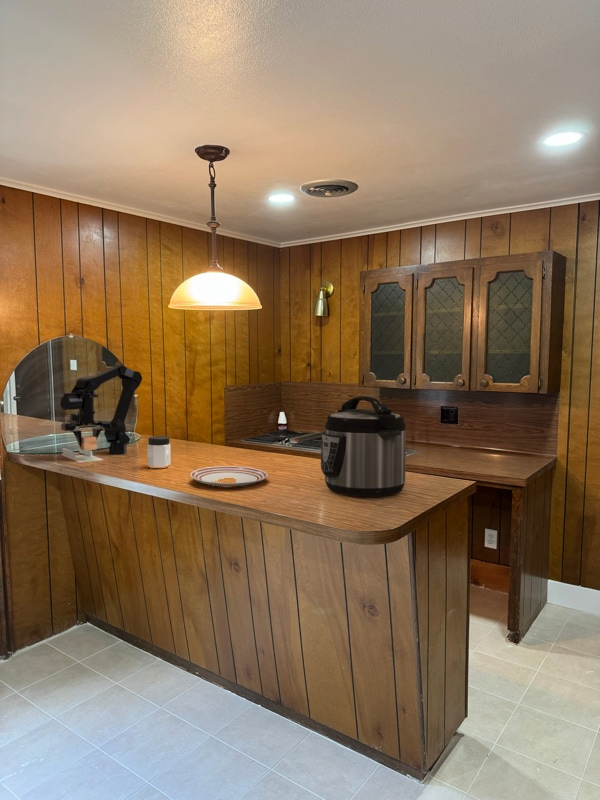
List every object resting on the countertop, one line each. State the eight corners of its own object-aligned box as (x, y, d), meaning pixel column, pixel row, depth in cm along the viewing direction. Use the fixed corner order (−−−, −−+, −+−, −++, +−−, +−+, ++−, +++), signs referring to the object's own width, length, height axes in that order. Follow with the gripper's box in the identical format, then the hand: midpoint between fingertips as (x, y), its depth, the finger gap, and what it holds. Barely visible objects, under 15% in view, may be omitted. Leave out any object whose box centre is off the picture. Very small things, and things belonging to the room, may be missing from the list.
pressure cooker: (324, 478, 204) (326, 393, 202) (402, 481, 201) (405, 394, 198) (316, 498, 175) (317, 398, 172) (407, 502, 171) (410, 400, 169)
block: (80, 448, 228) (79, 436, 228) (92, 447, 231) (92, 435, 231) (84, 450, 224) (84, 438, 224) (96, 449, 227) (96, 437, 227)
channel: (59, 457, 240) (59, 448, 240) (83, 455, 247) (83, 446, 247) (79, 466, 222) (79, 456, 222) (103, 463, 229) (103, 453, 229)
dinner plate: (282, 479, 202) (282, 470, 202) (236, 495, 179) (236, 484, 179) (223, 471, 216) (223, 463, 216) (173, 484, 193) (173, 475, 193)
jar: (163, 469, 217) (163, 439, 216) (144, 468, 219) (144, 438, 218) (173, 465, 225) (173, 436, 225) (155, 464, 227) (155, 435, 226)
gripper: (101, 406, 240) (101, 441, 241) (56, 408, 228) (57, 445, 229) (111, 408, 231) (111, 445, 233) (65, 410, 219) (66, 449, 220)
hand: (86, 446), depth 229 cm, fingers closed on block, 5 cm apart
